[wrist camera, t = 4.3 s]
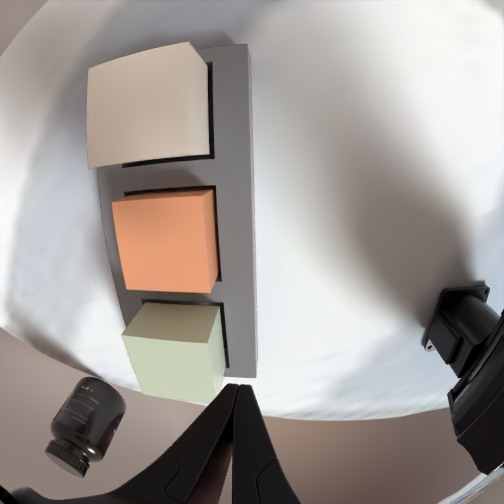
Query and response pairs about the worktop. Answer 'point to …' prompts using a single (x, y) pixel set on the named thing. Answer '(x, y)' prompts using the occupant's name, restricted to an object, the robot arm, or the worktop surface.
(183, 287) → the terracotta button
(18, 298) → the worktop surface
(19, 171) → the worktop surface
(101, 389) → the supplement bottle
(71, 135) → the worktop surface
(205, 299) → the console
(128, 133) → the cream button
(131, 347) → the sage button
